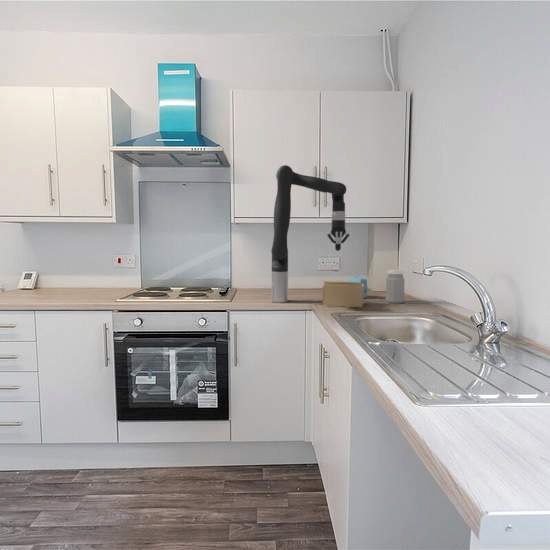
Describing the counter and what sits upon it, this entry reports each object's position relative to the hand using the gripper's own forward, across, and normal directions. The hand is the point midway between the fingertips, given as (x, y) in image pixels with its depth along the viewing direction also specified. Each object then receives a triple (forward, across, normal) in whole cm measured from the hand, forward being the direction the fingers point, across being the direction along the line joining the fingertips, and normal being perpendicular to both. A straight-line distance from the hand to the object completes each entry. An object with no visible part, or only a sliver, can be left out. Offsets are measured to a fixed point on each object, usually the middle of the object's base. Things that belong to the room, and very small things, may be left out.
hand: (337, 250), depth 223 cm
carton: (+29, +1, -12) cm, 31 cm away
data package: (+29, +15, +12) cm, 35 cm away
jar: (+29, +31, -6) cm, 43 cm away
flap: (+18, -1, -19) cm, 26 cm away
